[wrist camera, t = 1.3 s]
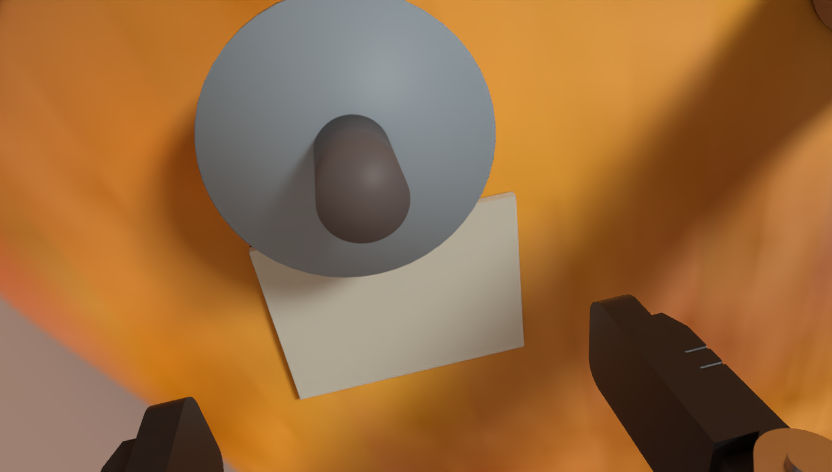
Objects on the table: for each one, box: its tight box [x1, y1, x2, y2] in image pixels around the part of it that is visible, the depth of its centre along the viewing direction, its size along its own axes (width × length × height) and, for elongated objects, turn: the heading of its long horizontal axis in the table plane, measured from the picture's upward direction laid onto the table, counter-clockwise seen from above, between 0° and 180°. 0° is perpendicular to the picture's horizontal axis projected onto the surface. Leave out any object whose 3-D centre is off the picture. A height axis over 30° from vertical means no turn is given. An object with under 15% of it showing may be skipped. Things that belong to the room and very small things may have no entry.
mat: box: [249, 192, 524, 399], centre depth 35 cm, size 16×12×1 cm
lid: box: [195, 0, 496, 278], centre depth 21 cm, size 12×12×6 cm
